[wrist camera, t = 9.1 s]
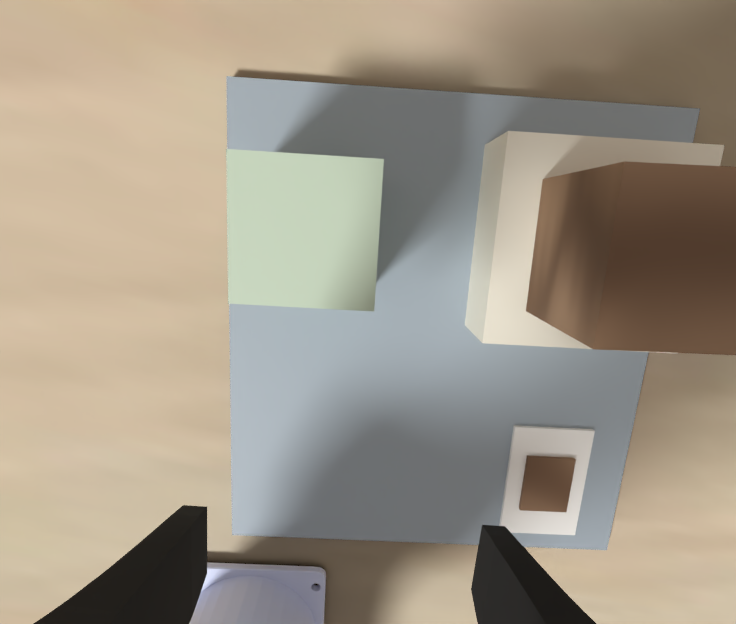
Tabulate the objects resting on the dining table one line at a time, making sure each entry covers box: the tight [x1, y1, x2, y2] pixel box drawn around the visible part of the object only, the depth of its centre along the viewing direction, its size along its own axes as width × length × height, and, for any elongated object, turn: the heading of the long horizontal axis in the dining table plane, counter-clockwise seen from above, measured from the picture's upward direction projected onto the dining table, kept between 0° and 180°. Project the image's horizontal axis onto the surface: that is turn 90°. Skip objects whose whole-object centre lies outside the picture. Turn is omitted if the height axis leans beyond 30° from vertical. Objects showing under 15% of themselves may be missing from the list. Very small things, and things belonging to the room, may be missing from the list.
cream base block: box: [465, 131, 725, 354], centre depth 18 cm, size 8×8×3 cm
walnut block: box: [526, 161, 736, 355], centre depth 14 cm, size 5×5×5 cm
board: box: [227, 76, 700, 550], centre depth 20 cm, size 22×20×1 cm
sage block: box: [226, 149, 384, 312], centre depth 16 cm, size 5×5×5 cm
